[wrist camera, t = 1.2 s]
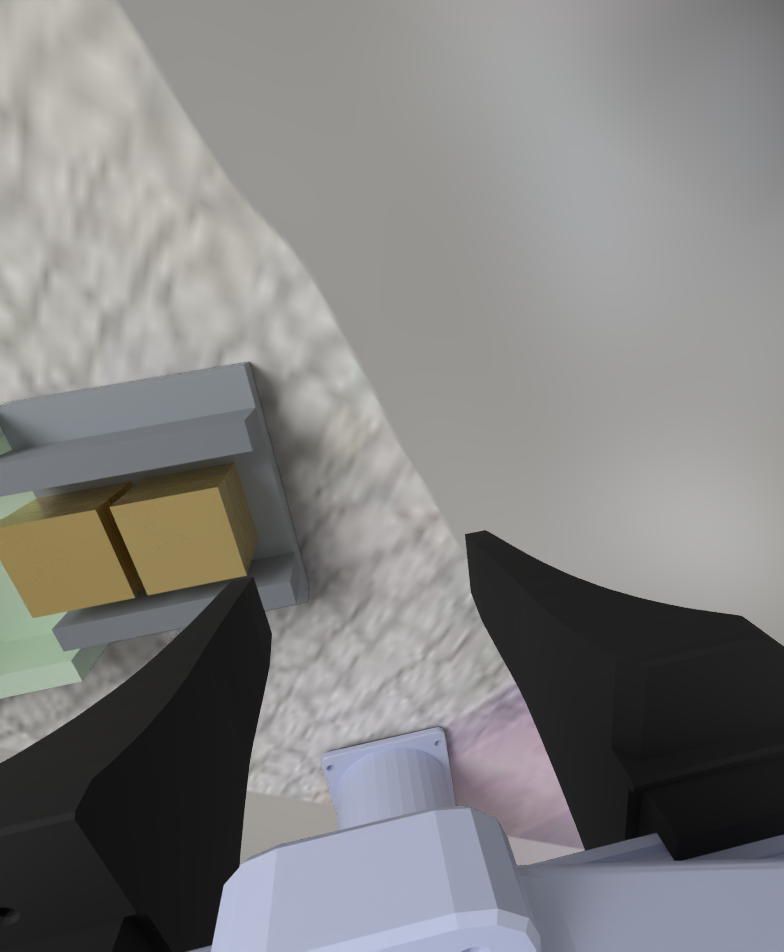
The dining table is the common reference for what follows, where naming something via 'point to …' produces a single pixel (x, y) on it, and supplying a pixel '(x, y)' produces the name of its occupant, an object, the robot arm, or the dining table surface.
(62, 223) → the dining table surface
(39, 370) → the dining table surface
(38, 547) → the chip
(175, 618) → the green and grey tray
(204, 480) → the chip
